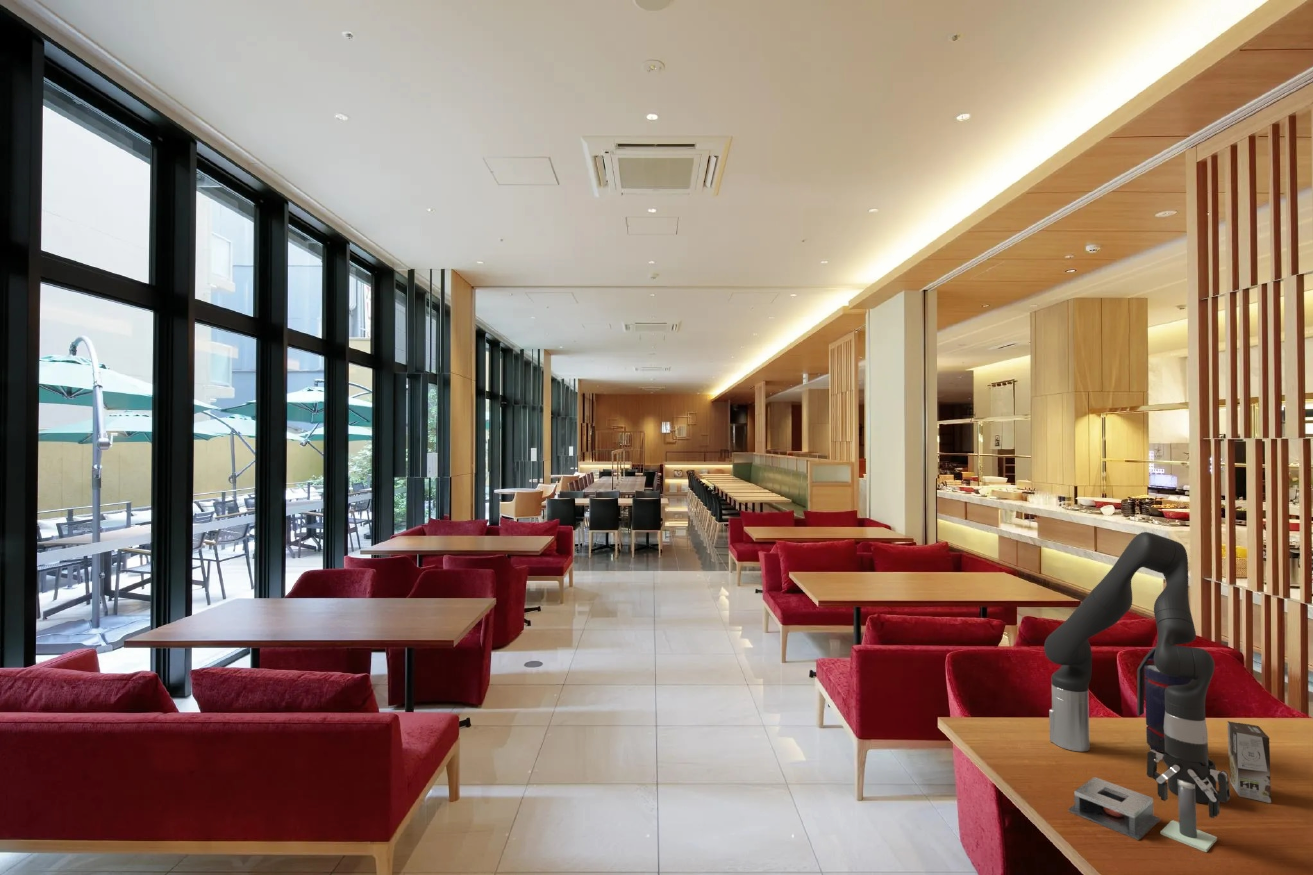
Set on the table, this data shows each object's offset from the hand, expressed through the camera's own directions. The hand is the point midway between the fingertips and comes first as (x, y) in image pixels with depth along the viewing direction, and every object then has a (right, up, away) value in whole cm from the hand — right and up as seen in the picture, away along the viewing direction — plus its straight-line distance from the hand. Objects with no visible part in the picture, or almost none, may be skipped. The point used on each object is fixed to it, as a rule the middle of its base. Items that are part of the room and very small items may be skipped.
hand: (1187, 807), depth 140 cm
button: (-11, -6, +8) cm, 15 cm away
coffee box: (+33, -8, +19) cm, 39 cm away
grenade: (+31, -9, +42) cm, 53 cm away
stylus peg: (0, -6, 0) cm, 6 cm away
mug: (+17, -8, +17) cm, 25 cm away
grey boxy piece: (-11, -7, +8) cm, 15 cm away
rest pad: (0, -6, 0) cm, 6 cm away
